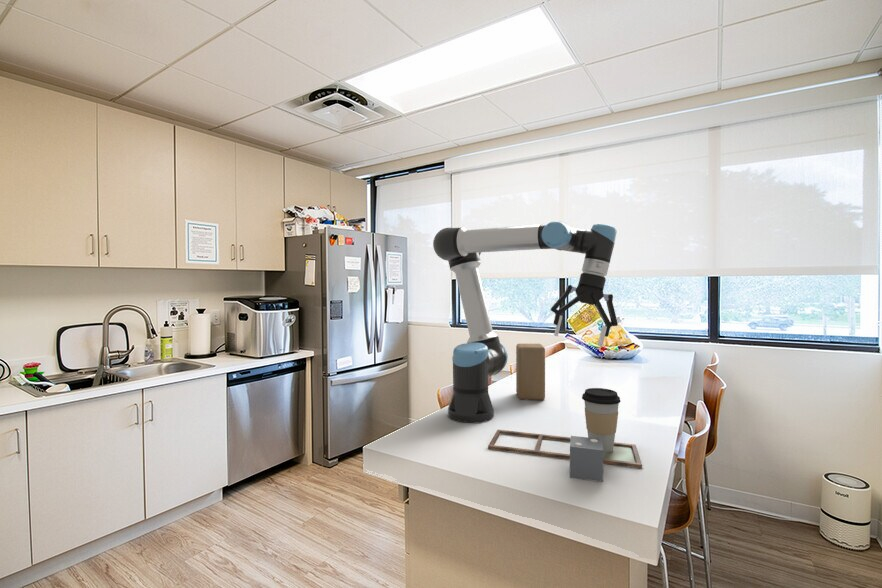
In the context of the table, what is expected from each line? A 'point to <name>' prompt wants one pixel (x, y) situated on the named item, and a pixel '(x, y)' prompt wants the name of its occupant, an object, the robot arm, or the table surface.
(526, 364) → the wooden block
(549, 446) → the table surface
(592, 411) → the coffee cup
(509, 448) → the wooden frame
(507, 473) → the table surface
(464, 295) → the robot arm
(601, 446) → the die
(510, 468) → the table surface
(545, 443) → the table surface
